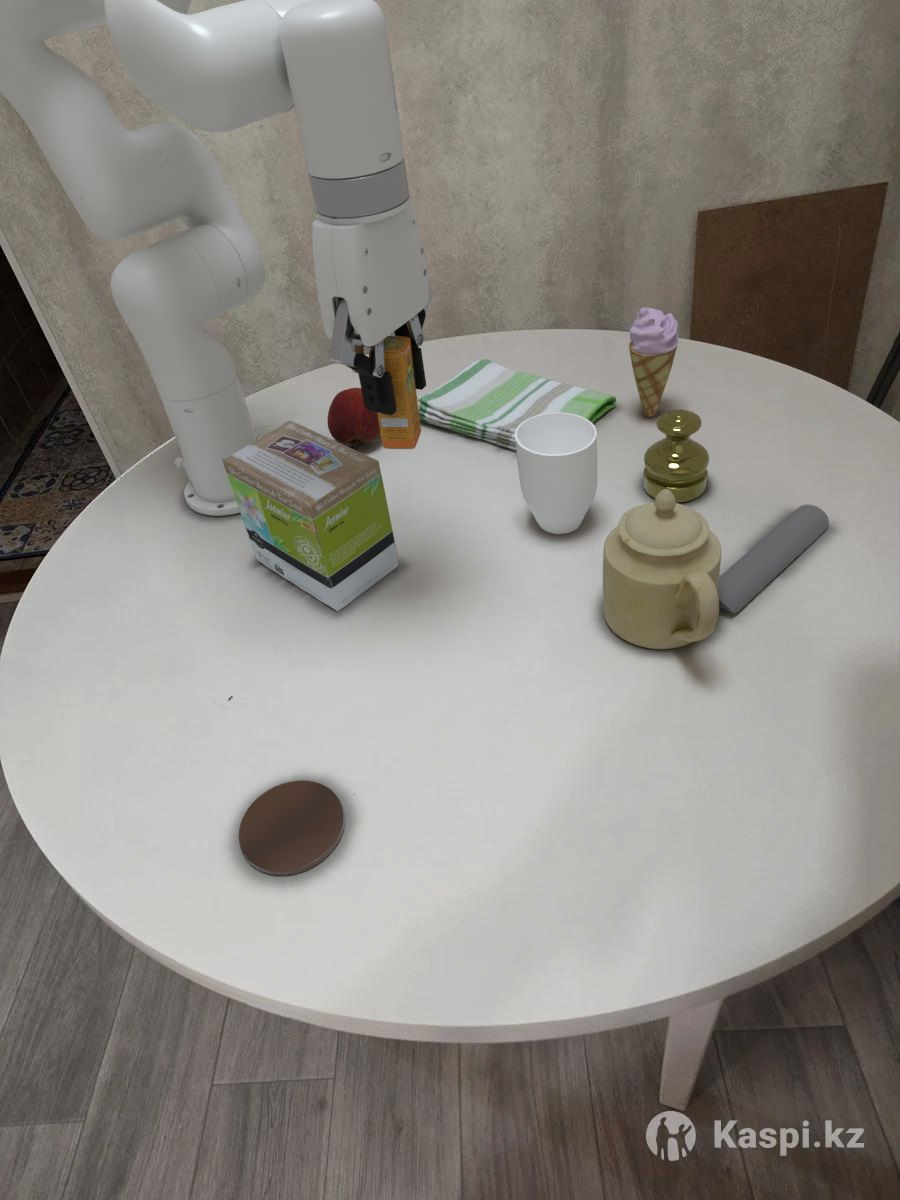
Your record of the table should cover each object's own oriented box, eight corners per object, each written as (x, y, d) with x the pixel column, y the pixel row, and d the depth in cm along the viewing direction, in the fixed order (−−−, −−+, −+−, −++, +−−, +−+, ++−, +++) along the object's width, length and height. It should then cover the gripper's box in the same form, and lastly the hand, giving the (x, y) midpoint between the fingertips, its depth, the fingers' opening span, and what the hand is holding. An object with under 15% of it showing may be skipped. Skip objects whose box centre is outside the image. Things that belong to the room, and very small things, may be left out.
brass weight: (637, 500, 102) (639, 426, 96) (649, 466, 107) (652, 394, 101) (701, 508, 100) (708, 432, 93) (710, 472, 105) (718, 398, 98)
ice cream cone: (621, 404, 119) (623, 298, 109) (666, 398, 119) (672, 291, 109) (633, 429, 114) (636, 320, 104) (679, 422, 114) (687, 313, 104)
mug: (583, 550, 97) (581, 459, 89) (509, 537, 100) (502, 447, 92) (614, 492, 104) (615, 403, 96) (544, 481, 108) (540, 394, 100)
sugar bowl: (769, 629, 85) (794, 503, 75) (697, 689, 80) (714, 563, 70) (650, 563, 94) (658, 443, 84) (579, 613, 89) (579, 492, 79)
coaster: (218, 845, 73) (216, 841, 73) (288, 769, 78) (286, 765, 78) (297, 894, 69) (296, 890, 68) (366, 810, 74) (364, 806, 74)
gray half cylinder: (830, 526, 95) (834, 512, 94) (731, 619, 86) (733, 605, 85) (795, 511, 97) (797, 498, 96) (694, 600, 88) (695, 587, 87)
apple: (398, 434, 120) (388, 382, 115) (364, 463, 115) (353, 410, 110) (356, 424, 123) (345, 373, 118) (322, 451, 119) (309, 399, 114)
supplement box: (418, 450, 81) (401, 351, 75) (383, 450, 82) (363, 352, 75) (425, 431, 84) (409, 333, 77) (390, 431, 84) (372, 335, 78)
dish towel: (484, 370, 131) (482, 348, 129) (618, 403, 119) (619, 380, 117) (413, 423, 122) (409, 400, 120) (551, 465, 110) (550, 441, 108)
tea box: (254, 564, 102) (217, 457, 92) (318, 521, 107) (290, 415, 97) (337, 615, 93) (307, 504, 83) (403, 566, 98) (382, 455, 88)
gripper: (383, 154, 74) (413, 352, 87) (254, 223, 64) (308, 435, 77) (456, 159, 71) (477, 364, 83) (332, 231, 61) (376, 453, 73)
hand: (396, 396), depth 80 cm, fingers closed on supplement box, 4 cm apart
